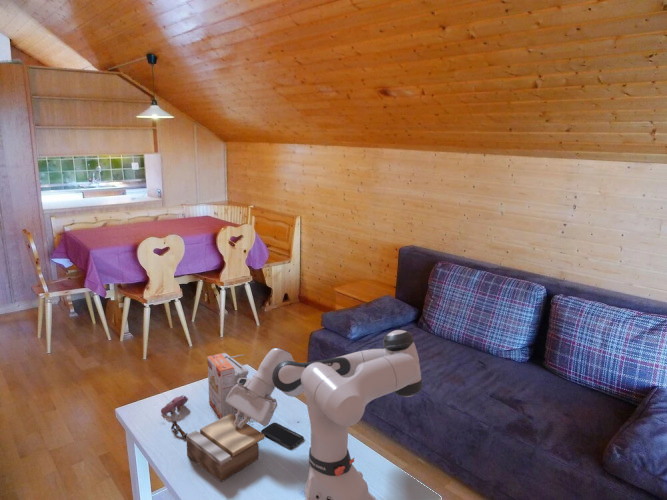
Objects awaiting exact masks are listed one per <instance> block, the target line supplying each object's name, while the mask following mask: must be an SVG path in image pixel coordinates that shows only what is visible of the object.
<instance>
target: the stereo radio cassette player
mask: <svg viewBox="0 0 667 500" xmlns="http://www.w3.org/2000/svg"><path fill="white" fill-rule="evenodd" d="M221 354H222V355H223V356H224V357H225V359H226V360H227V361H228V362H229V363H230V364H231V365H232V366H233V367H234V375H235V385H237V384H238V383H237V381H238V379H239V378H248V375H249V370H248V369H247V368H246V367H245V366H243V364H241V363H239V361H237V360H236V359H235V358H237V357H238V358H239V357H241V356H245V355H246V354H245V353H244V354H238V355H233V356H230V355H229V354H227V353H226V352H223V353H221Z"/></svg>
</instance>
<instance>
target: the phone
mask: <svg viewBox="0 0 667 500" xmlns="http://www.w3.org/2000/svg"><path fill="white" fill-rule="evenodd" d="M260 432H261V433H262V434H264V438H265V437H266V438H268V439H269V440H271V441H273V442H275V443H277V444H279V445H281V446H282V447H284V448H286V449H288V450H293V449H294V448H296V447H297V446H299V445H300V444H301V443H302V442H304V440H305V436H304V435H302V434H299V433H298V432H295V431H293V430H291V429H289V428H287V427H286V426H283V425H282V424H279V423H278V422H272V423H269V424H268V425H267V426H265V428H263V429H261V431H260Z"/></svg>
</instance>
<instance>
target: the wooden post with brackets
mask: <svg viewBox="0 0 667 500" xmlns="http://www.w3.org/2000/svg"><path fill="white" fill-rule="evenodd" d="M171 423H172V425H171V427H170V429H171V430H173V432H174V434H178V433H180V435H181V436H182V437H181V439H184V438H186V435H188V434H189V433H188V432H185V431H183V430H182V427H181V426H180V425H179V424H178V423H177V420H176V419H172V420H171Z"/></svg>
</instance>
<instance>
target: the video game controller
mask: <svg viewBox="0 0 667 500" xmlns="http://www.w3.org/2000/svg"><path fill="white" fill-rule="evenodd" d="M188 401H189V398H188V397H187V396H186V395H184V394H182V395H181V396H176V397H174V398H173V399H172V400H171V401H170V402H168V403H167V404H166V405H165V406H163V407H162V408H160V413H161V414H162V415H168V414H169V413H171V414H174V413H175V412H176V411H177V410H181V409H182V407H183V406H184V405H185V404H186V403H187V402H188Z"/></svg>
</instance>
